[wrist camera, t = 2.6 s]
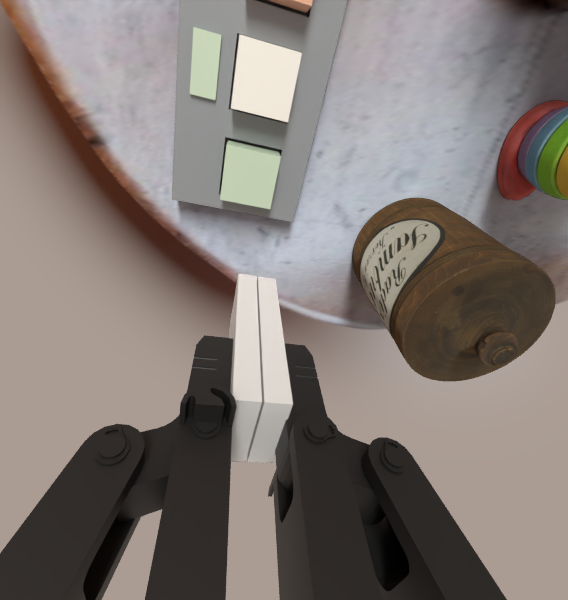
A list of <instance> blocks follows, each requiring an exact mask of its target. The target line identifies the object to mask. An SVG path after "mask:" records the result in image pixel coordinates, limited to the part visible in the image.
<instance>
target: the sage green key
mask: <svg viewBox="0 0 568 600" xmlns="http://www.w3.org/2000/svg"><path fill="white" fill-rule="evenodd" d="M280 159H281V156H280V154H279V152H277V151H273V150H269V149H264V148H260V147H256V146H251V145H247V144H243V143H238V142H234V141H230V140H228V142H227V145H226V153H225V162H224V170H223V179H222V187H221V196H220V200H224V201H230V202H235V203H240V204H245V205H250V206H256V207H261V208H266V209H270V208H271V203H272V198H273V193H274V188H275V183H276V178H277V174H278V169H279V164H280Z"/></svg>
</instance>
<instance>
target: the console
mask: <svg viewBox="0 0 568 600" xmlns="http://www.w3.org/2000/svg"><path fill="white" fill-rule="evenodd" d="M347 1H348V0H313V1H312V6H311V7H310V9H309V10H308V11H307V12H306V13H305V12H301V11H298V10H295V9H292V8H289V7H286V6H283V5H280V4H277V3H274V2H270V1H267V0H180V4H179V30H178V55H177V81H176V107H175V132H174V158H173V184H172V200H178V201H183V202H188V203H193V204H199V205H204V206H209V207H215V208H220V209H225V210H231V211H236V212H241V213H247V214H252V215H257V216H263V217H268V218H273V219H279V220H284V221H289V222H293V220H294V216H295V212H296V208H297V204H298V200H299V195H300V191H301V187H302V183H303V179H304V175H305V171H306V167H307V163H308V159H309V155H310V151H311V147H312V143H313V139H314V135H315V131H316V127H317V122H318V118H319V114H320V110H321V106H322V102H323V98H324V94H325V90H326V86H327V82H328V78H329V74H330V70H331V66H332V62H333V58H334V53H335V49H336V45H337V41H338V37H339V33H340V29H341V25H342V21H343V17H344V13H345V9H346V5H347ZM239 34H240V35H244V36H247V37H250V38H254V39H257V40H260V41H264V42H267V43H271V44H274V45H277V46H281V47H284V48H287V49H291V50H294V51H298V52H301V53H302V56H301V60H300V65H299V70H298V75H297V80H296V85H295V90H294V95H293V100H292V105H291V110H290V115H289V119H288V122H284V121H280V120H276V119H272V118H268V117H264V116H260V115H256V114H252V113H248V112H244V111H240V110H236V109H232V108H231V102H232V94H233V85H234V77H235V68H236V60H237V51H238V43H239ZM228 140H230V141H234V142H238V143H243V144H247V145H251V146H256V147H260V148H264V149H269V150H273V151H277V152H279V154H280V156H281V159H280V164H279V169H278V174H277V178H276V183H275V188H274V193H273V198H272V203H271V208H270V209H266V208H261V207H256V206H250V205H245V204H240V203H235V202H230V201H224V200H220V196H221V187H222V179H223V170H224V162H225V153H226V145H227V142H228Z"/></svg>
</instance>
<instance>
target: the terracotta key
mask: <svg viewBox="0 0 568 600" xmlns="http://www.w3.org/2000/svg"><path fill="white" fill-rule="evenodd" d="M267 1H270V2H274V3H277V4H280V5H283V6H286V7H289V8H292V9H295V10H298V11H301V12H305V13H306V12H307V11H308V10H309V9H310V7H311V6H312V1H313V0H267Z"/></svg>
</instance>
